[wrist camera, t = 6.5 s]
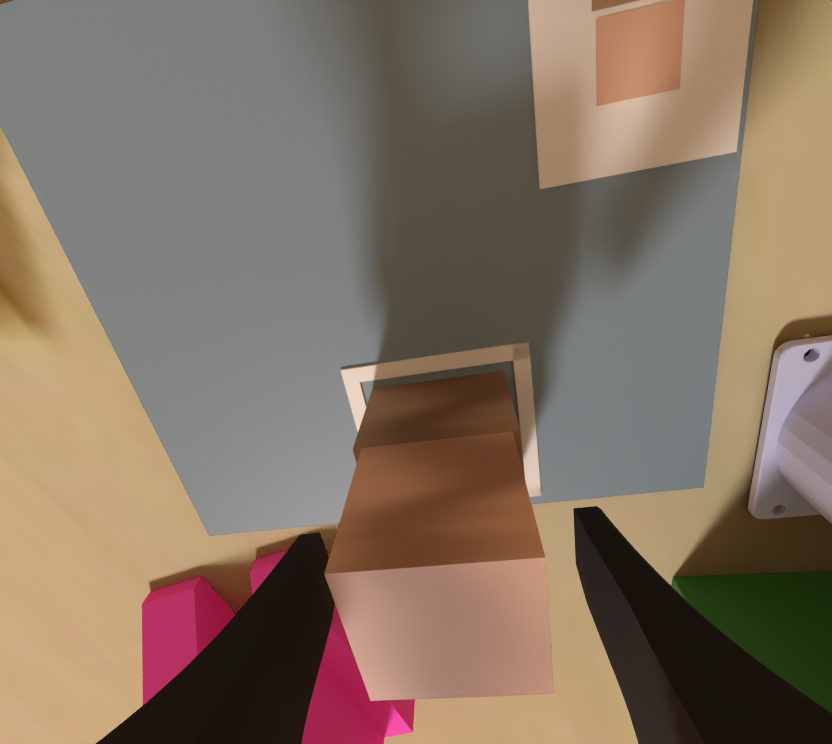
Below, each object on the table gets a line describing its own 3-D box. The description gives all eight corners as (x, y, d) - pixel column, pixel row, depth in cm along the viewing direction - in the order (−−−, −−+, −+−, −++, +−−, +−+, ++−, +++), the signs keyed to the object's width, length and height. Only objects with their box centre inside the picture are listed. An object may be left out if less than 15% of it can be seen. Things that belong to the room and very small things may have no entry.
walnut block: (502, 370, 16) (520, 429, 13) (514, 477, 18) (532, 554, 15) (372, 388, 17) (352, 449, 13) (397, 490, 19) (386, 567, 15)
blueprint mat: (768, -206, 10) (789, -230, 9) (697, 479, 18) (705, 490, 18) (-36, 24, 13) (-60, 17, 12) (213, 528, 21) (207, 538, 21)
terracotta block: (512, 430, 13) (544, 557, 8) (523, 545, 14) (554, 693, 10) (361, 447, 13) (324, 574, 9) (390, 555, 15) (370, 700, 11)
